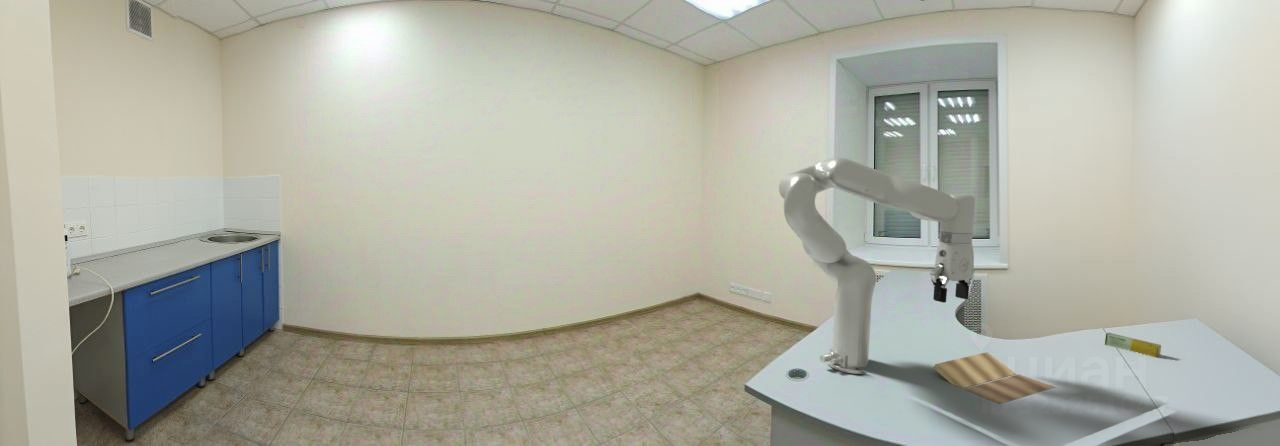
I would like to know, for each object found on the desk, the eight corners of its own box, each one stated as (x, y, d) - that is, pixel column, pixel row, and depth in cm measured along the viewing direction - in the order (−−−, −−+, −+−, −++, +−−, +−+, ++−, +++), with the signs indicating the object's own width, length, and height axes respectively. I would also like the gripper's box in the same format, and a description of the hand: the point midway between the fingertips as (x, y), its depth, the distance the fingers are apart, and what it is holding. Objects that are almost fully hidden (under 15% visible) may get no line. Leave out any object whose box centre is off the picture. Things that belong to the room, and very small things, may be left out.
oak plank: (960, 391, 113) (963, 387, 112) (933, 367, 119) (935, 363, 119) (1012, 377, 121) (1015, 373, 121) (984, 355, 128) (987, 352, 127)
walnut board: (998, 410, 105) (999, 403, 104) (963, 394, 112) (963, 389, 112) (1054, 392, 113) (1055, 386, 113) (1018, 379, 121) (1018, 374, 121)
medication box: (1103, 345, 147) (1104, 333, 147) (1107, 343, 148) (1108, 332, 148) (1157, 358, 136) (1158, 346, 136) (1160, 357, 137) (1162, 344, 137)
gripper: (948, 241, 117) (943, 306, 119) (989, 238, 123) (984, 300, 125) (920, 238, 124) (916, 299, 125) (961, 235, 130) (957, 293, 132)
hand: (950, 299), depth 125 cm, fingers open, 8 cm apart
